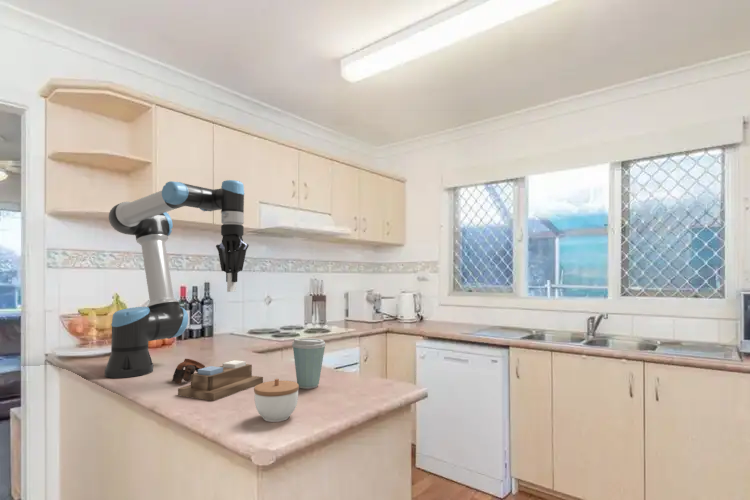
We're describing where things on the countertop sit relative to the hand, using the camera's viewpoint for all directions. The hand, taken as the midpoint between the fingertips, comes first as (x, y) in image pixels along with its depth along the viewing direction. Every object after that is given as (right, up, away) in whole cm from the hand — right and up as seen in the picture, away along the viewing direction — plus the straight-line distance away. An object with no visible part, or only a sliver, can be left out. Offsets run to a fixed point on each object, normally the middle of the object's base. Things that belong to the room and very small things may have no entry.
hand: (231, 291), depth 147 cm
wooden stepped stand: (+3, -28, -17) cm, 33 cm away
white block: (+5, -26, -13) cm, 29 cm away
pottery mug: (-12, -29, -7) cm, 33 cm away
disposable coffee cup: (+29, -29, -15) cm, 44 cm away
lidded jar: (+26, -27, -44) cm, 58 cm away
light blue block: (+1, -25, -22) cm, 33 cm away
